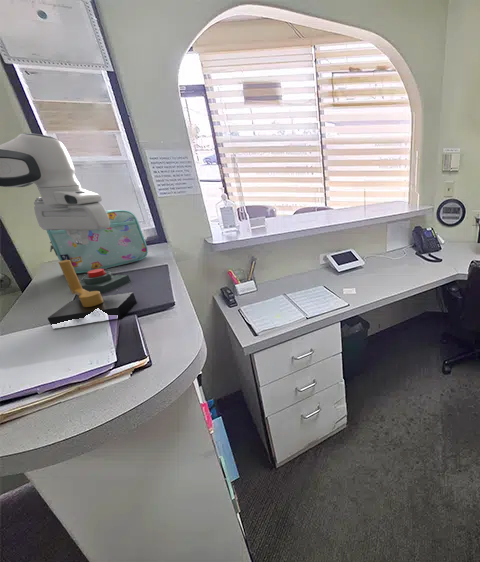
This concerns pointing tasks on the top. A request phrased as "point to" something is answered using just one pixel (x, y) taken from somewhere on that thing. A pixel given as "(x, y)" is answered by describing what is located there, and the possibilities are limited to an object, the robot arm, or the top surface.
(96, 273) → the red button
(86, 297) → the crank handle
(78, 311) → the valve block
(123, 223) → the lunch box
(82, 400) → the top surface
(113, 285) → the control box
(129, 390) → the top surface
